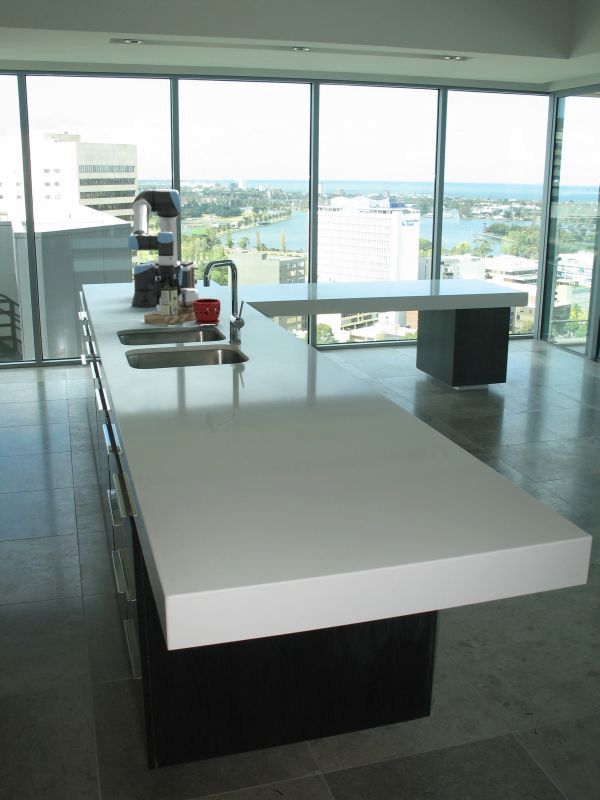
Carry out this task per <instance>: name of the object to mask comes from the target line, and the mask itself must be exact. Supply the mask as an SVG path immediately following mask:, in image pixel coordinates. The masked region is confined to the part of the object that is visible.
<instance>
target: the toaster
mask: <svg viewBox="0 0 600 800" xmlns="http://www.w3.org/2000/svg"><path fill="white" fill-rule="evenodd" d="M178 261H179V262H180V265H181V266H183V274H182V283H181V285H180V288H196V289H197V287H196V285H198V279H197V278H196V276H195V275H196V273H195V270H199V269H200V268H199V267H196V265H195V264H194V261H192V260H191V261H188V260H187V261H186V260H185V261H183V260H178ZM145 263H155V266H159V263H158V260H154V259H153V260H149V259H147V260H145V261H141V262H139V265H140V264H145Z"/></svg>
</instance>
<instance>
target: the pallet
mask: <svg viewBox="0 0 600 800" xmlns="http://www.w3.org/2000/svg"><path fill="white" fill-rule="evenodd" d="M143 315H144V316H143V317H144V323H145V324H150V325H158V326H163V325H165V326H164V327H169V326H168V325H171V326H175V325H174V324H177V323H182V322H189V321H196V320H197V319H196V317H195V314H194V313H191V314H186V313H180V312H179V308H178V316H172V317H162V316H157V313H146V314H143Z"/></svg>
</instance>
